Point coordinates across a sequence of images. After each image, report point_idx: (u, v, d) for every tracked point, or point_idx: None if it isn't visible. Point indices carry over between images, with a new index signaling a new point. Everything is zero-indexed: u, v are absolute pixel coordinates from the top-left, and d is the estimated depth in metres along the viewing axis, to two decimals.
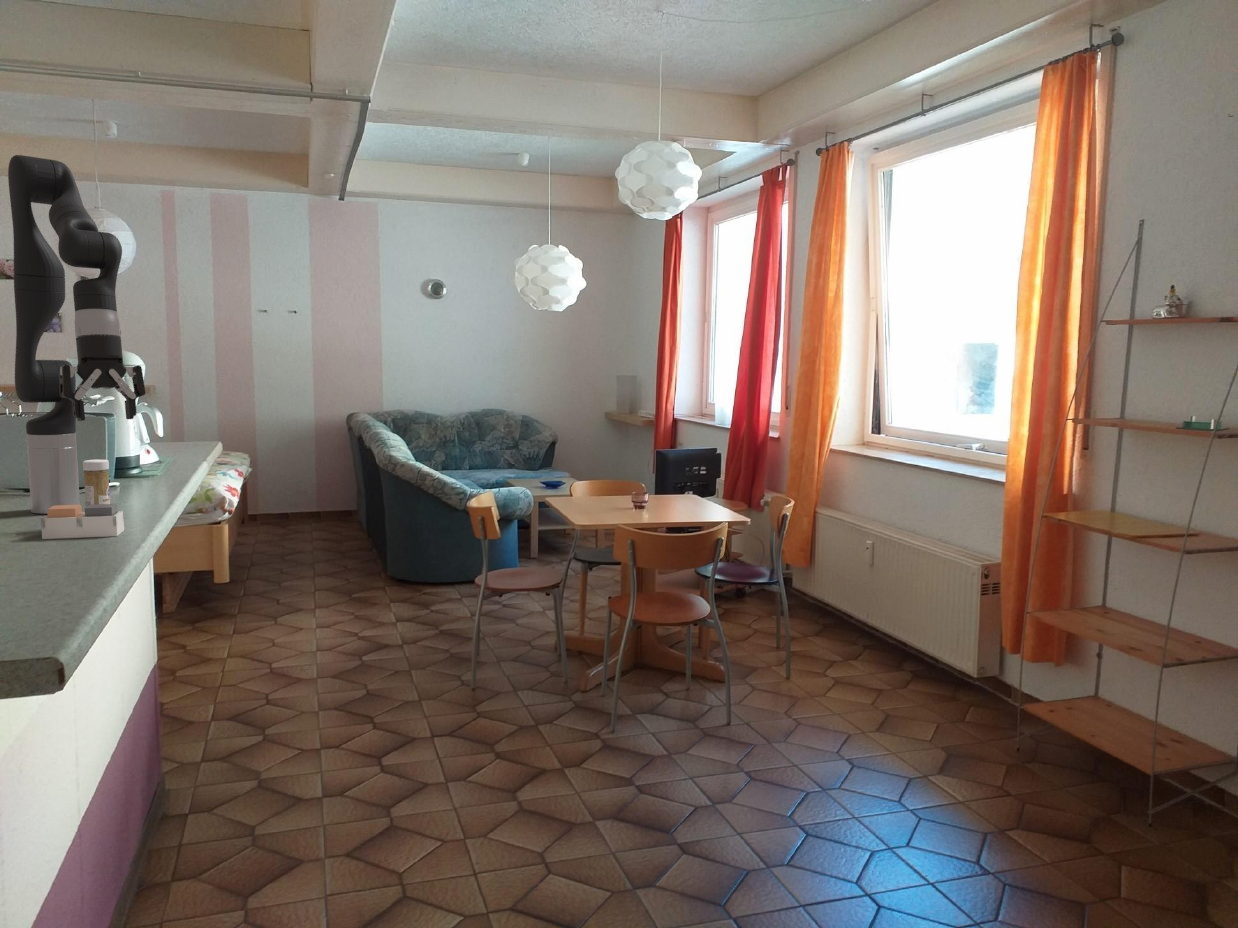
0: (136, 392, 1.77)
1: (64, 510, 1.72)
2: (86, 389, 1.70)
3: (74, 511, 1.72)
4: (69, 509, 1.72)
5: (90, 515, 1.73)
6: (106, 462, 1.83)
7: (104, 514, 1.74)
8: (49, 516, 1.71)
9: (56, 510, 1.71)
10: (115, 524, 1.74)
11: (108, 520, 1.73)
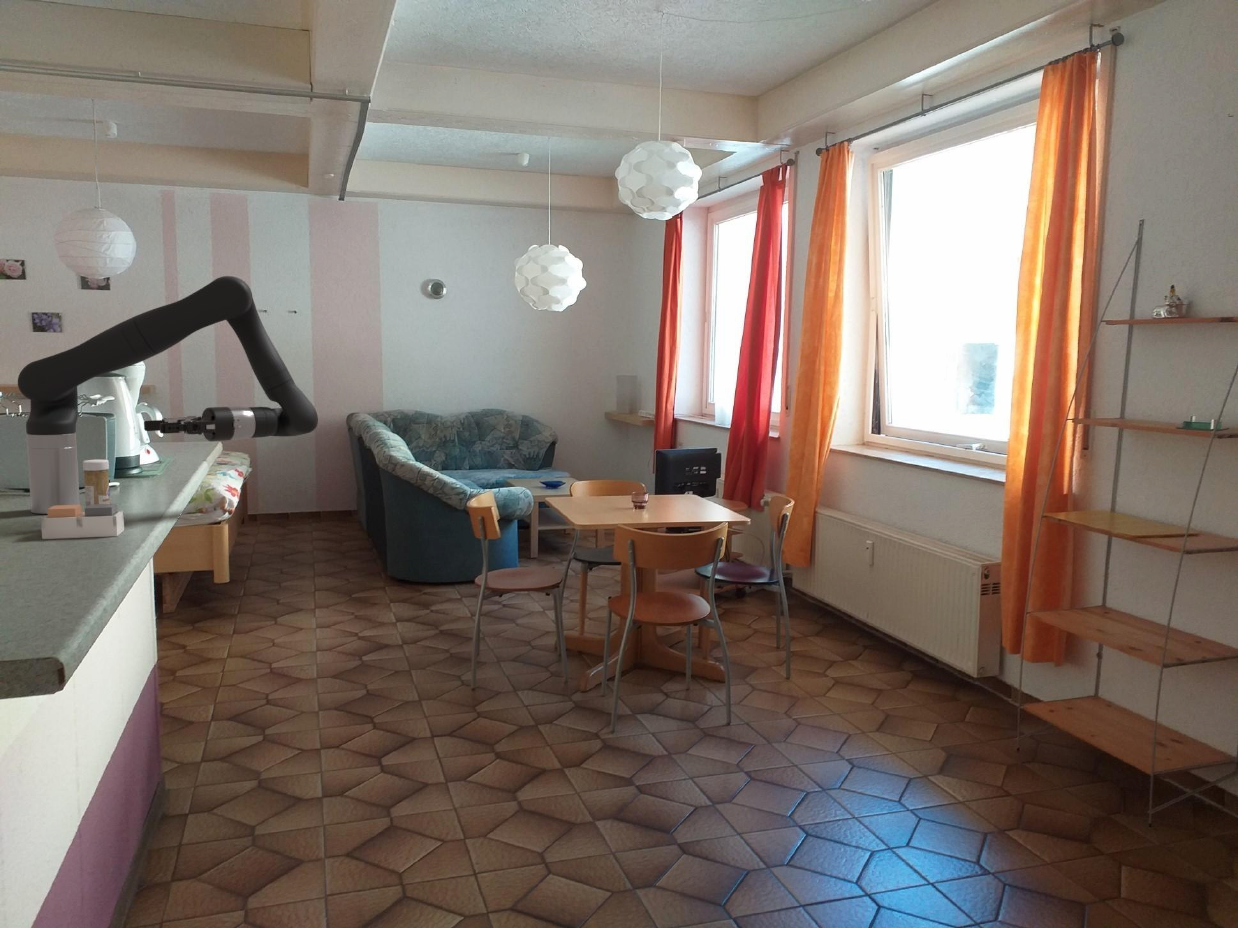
0: None
1: (64, 510, 1.72)
2: (187, 433, 1.92)
3: (74, 511, 1.72)
4: (69, 509, 1.72)
5: (90, 515, 1.73)
6: (106, 462, 1.83)
7: (104, 514, 1.74)
8: (49, 516, 1.71)
9: (56, 510, 1.71)
10: (115, 524, 1.74)
11: (108, 520, 1.73)
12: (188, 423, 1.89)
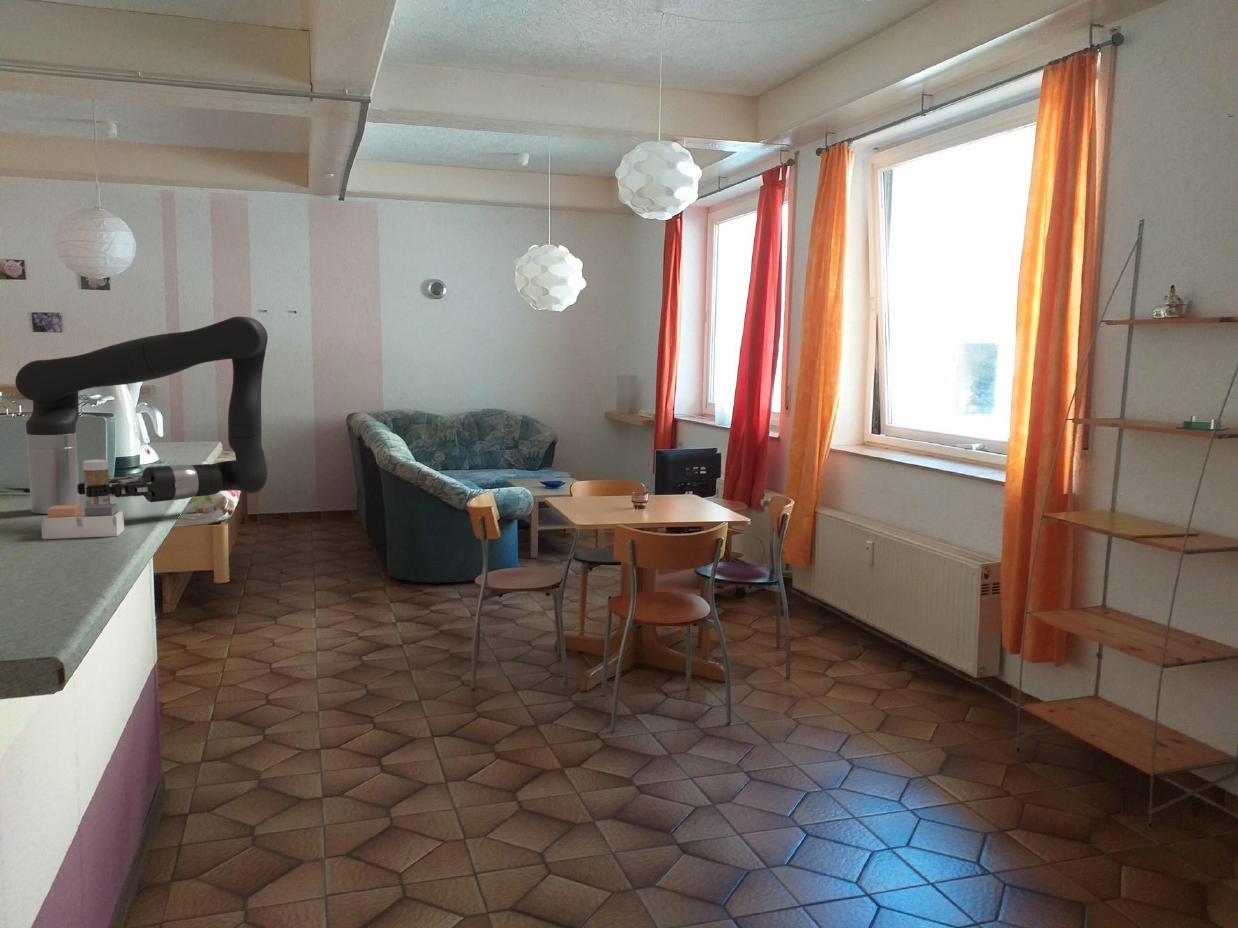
0: None
1: (64, 510, 1.72)
2: None
3: (74, 511, 1.72)
4: (69, 509, 1.72)
5: (90, 515, 1.73)
6: (106, 462, 1.83)
7: (104, 514, 1.74)
8: (49, 516, 1.71)
9: (56, 510, 1.71)
10: (115, 524, 1.74)
11: (108, 520, 1.73)
12: (115, 486, 1.82)
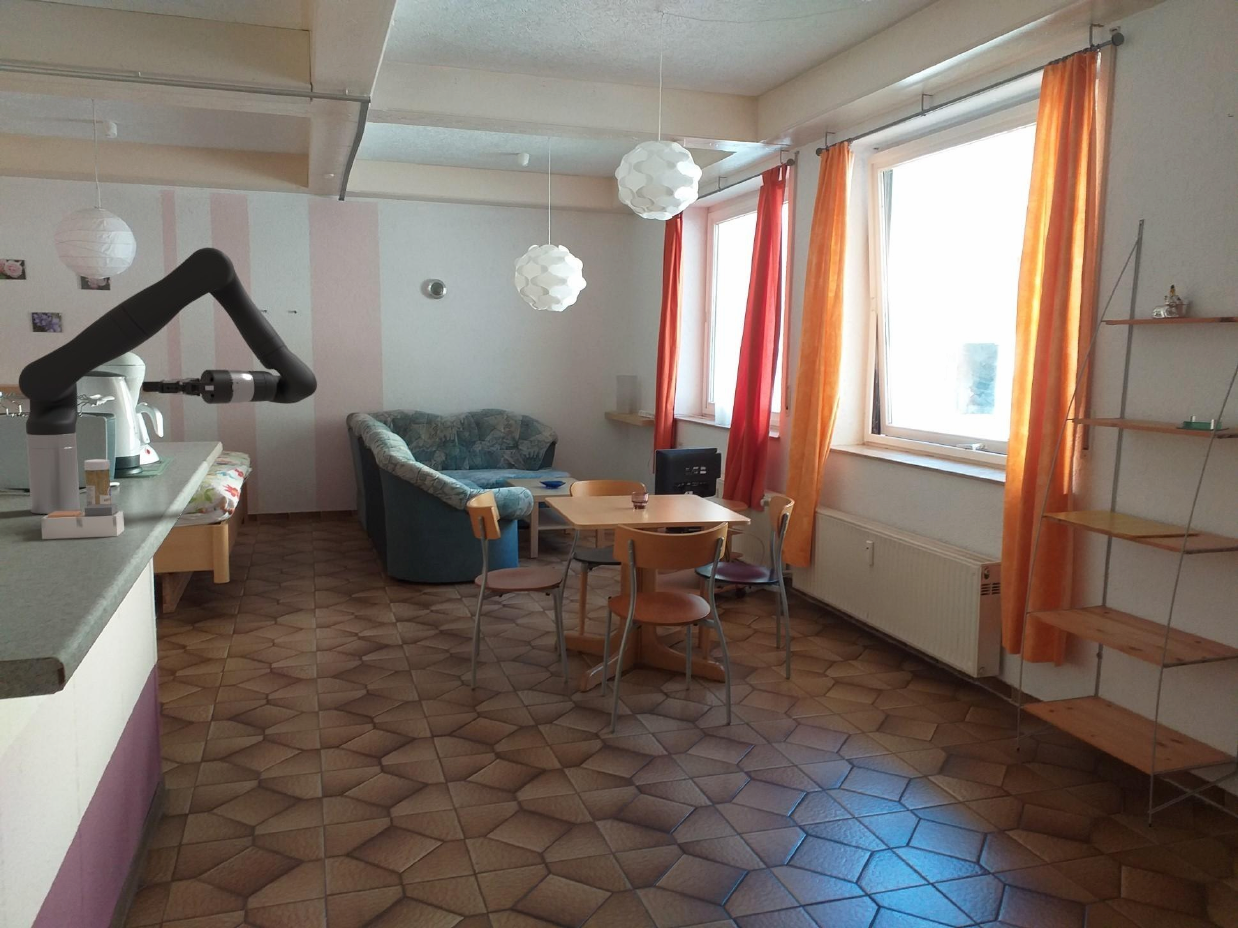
0: None
1: (64, 516, 1.72)
2: (185, 394, 1.92)
3: None
4: (69, 515, 1.72)
5: (90, 515, 1.73)
6: (107, 462, 1.83)
7: (104, 514, 1.74)
8: None
9: (56, 516, 1.72)
10: (115, 524, 1.74)
11: (108, 520, 1.73)
12: (187, 383, 1.88)
